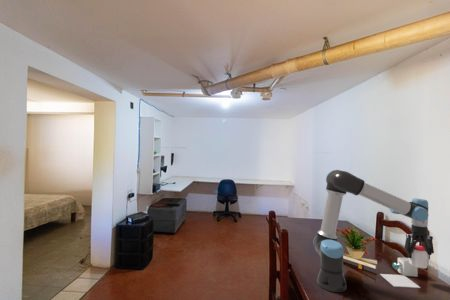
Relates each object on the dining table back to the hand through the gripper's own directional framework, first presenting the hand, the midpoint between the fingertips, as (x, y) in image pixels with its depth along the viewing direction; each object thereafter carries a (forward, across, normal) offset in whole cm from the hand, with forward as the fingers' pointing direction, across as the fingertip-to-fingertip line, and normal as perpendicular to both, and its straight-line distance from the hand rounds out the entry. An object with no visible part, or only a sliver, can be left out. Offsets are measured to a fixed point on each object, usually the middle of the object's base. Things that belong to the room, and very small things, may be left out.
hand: (418, 264), depth 142 cm
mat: (+10, -11, -1) cm, 15 cm away
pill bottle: (+1, 0, 0) cm, 1 cm away
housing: (+10, 0, +9) cm, 13 cm away
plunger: (+8, -3, +9) cm, 12 cm away
